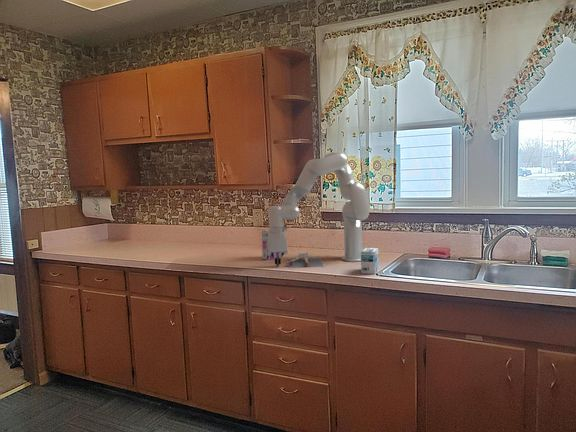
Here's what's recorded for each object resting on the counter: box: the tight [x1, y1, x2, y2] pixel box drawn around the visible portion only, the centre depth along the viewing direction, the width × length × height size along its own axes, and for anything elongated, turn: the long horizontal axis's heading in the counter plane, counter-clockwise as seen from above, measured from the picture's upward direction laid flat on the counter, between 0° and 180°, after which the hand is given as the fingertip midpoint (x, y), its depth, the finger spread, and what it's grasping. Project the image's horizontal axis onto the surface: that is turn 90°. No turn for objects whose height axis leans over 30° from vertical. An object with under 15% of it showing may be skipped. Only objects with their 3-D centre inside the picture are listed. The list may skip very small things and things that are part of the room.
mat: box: [286, 257, 325, 269], centre depth 240 cm, size 18×23×1 cm
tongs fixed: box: [302, 256, 310, 268], centre depth 238 cm, size 19×3×2 cm, turn 2°
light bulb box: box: [360, 247, 380, 275], centre depth 217 cm, size 11×7×11 cm, turn 158°
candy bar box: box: [261, 229, 279, 261], centre depth 255 cm, size 11×5×16 cm, turn 132°
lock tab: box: [298, 251, 309, 259], centre depth 250 cm, size 5×5×3 cm
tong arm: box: [286, 256, 302, 267], centre depth 238 cm, size 16×1×2 cm, turn 154°
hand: (277, 265), depth 232 cm, fingers closed
